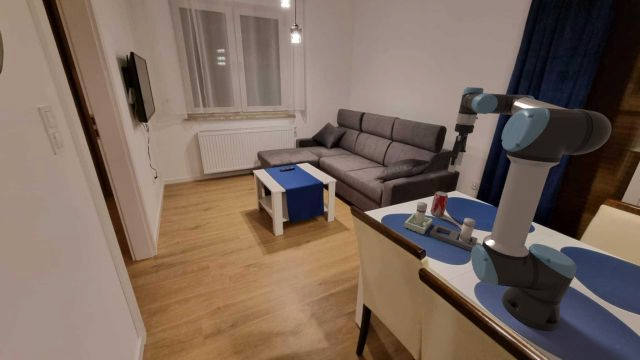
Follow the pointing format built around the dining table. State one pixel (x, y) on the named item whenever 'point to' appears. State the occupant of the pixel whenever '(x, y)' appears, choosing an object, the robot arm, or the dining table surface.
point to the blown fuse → (420, 214)
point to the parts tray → (410, 225)
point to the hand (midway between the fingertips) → (454, 168)
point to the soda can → (439, 203)
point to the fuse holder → (457, 234)
